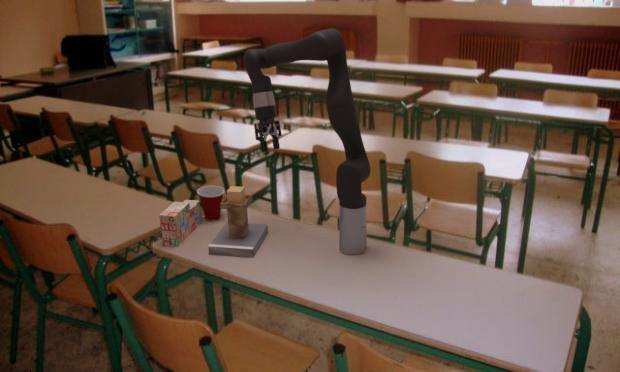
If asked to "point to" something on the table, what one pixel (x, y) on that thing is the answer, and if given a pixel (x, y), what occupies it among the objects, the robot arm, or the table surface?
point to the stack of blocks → (180, 221)
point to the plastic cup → (211, 201)
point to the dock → (238, 241)
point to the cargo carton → (236, 195)
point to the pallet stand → (237, 217)
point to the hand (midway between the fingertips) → (270, 150)
